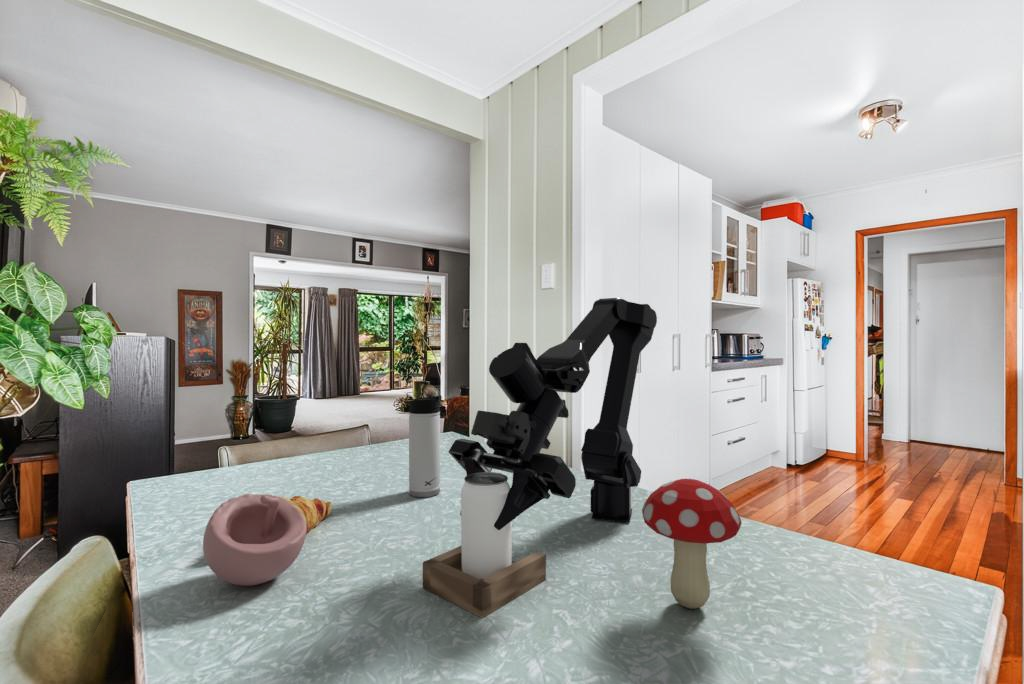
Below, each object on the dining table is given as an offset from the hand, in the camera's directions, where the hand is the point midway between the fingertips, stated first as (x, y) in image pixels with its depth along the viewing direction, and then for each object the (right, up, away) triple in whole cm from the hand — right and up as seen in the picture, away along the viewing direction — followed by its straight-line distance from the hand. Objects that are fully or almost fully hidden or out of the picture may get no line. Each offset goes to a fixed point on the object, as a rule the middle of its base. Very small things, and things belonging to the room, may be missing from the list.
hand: (478, 522), depth 64 cm
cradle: (+1, -8, +1) cm, 8 cm away
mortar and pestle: (-29, -8, +2) cm, 31 cm away
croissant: (-33, -9, +17) cm, 38 cm away
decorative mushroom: (+25, -8, -5) cm, 27 cm away
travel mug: (-13, -8, +39) cm, 42 cm away
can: (+1, -7, +1) cm, 7 cm away
